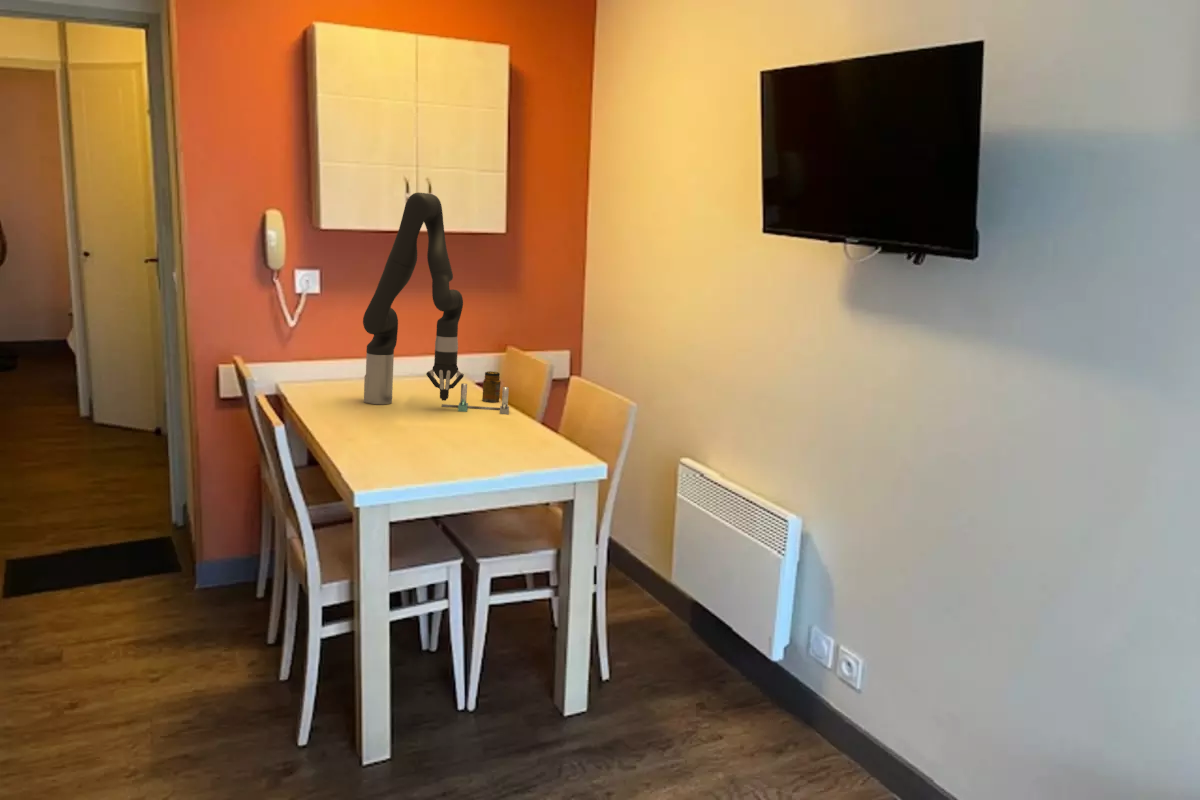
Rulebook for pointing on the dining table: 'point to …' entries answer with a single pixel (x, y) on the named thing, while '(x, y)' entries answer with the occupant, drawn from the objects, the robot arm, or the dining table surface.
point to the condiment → (491, 387)
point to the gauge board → (472, 407)
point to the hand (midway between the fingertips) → (444, 400)
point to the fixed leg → (504, 401)
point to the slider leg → (463, 399)
